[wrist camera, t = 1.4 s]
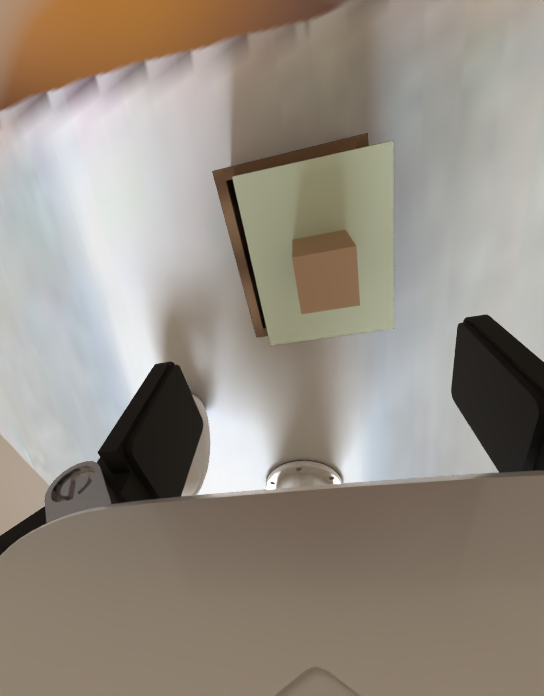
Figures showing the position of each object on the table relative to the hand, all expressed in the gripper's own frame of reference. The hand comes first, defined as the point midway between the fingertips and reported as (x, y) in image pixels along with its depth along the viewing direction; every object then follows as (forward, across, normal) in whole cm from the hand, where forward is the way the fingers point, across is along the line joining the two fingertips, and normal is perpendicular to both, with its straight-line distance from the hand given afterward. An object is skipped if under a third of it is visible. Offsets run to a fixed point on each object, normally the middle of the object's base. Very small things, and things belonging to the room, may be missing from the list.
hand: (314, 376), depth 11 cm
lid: (+17, -1, +1) cm, 17 cm away
